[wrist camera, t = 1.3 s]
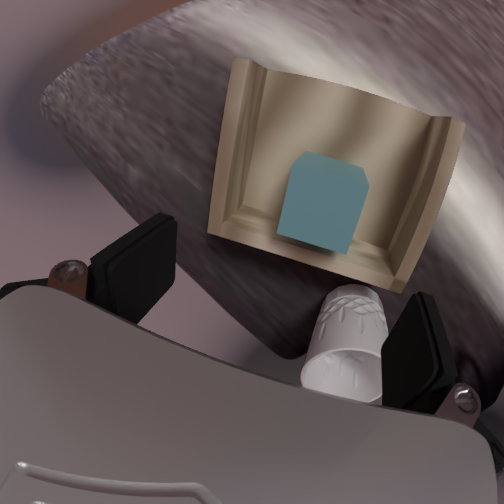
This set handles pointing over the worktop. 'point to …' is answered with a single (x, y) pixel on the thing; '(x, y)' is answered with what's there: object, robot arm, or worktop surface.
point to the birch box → (337, 147)
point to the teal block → (323, 202)
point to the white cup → (347, 345)
